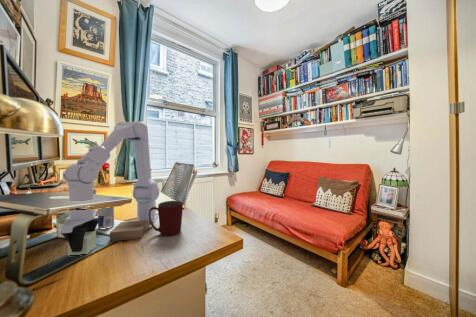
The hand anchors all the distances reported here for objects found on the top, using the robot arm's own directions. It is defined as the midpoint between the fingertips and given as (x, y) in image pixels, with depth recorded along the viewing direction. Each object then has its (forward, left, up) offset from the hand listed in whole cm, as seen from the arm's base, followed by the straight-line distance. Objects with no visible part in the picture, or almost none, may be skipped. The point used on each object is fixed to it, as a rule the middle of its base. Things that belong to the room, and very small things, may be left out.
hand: (82, 246), depth 58 cm
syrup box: (-14, -11, -2) cm, 18 cm away
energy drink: (-20, -2, -2) cm, 20 cm away
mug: (-9, +23, -2) cm, 25 cm away
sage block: (0, 0, -1) cm, 1 cm away
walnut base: (-11, +10, -2) cm, 15 cm away
